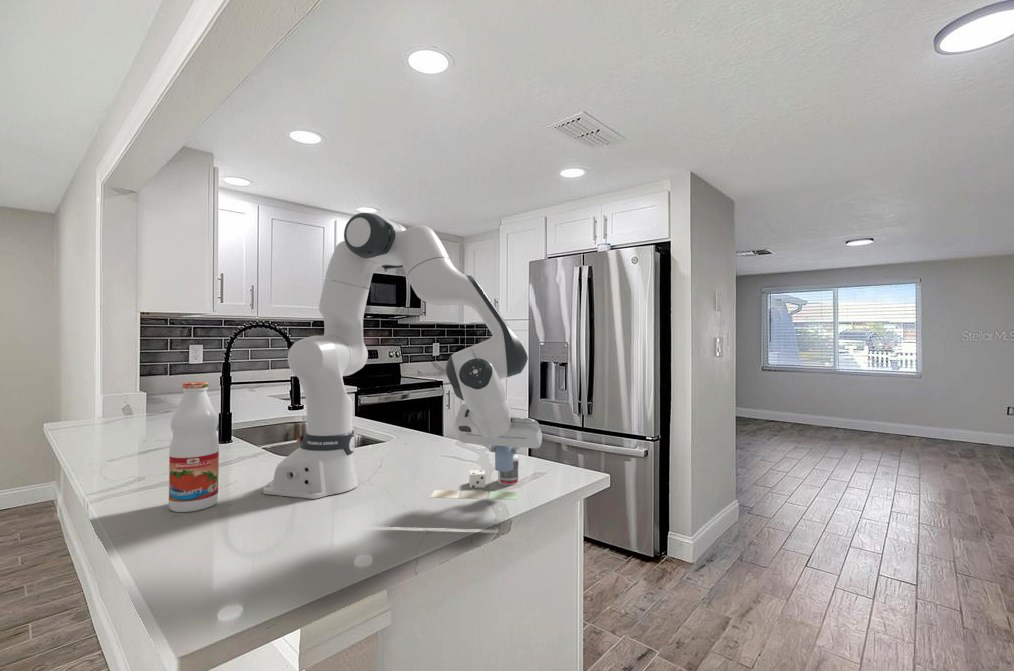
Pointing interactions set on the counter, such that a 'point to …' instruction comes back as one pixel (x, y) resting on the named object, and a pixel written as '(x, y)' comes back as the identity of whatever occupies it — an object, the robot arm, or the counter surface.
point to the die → (477, 478)
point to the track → (473, 494)
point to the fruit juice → (194, 451)
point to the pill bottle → (510, 473)
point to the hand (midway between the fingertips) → (504, 450)
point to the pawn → (503, 458)
